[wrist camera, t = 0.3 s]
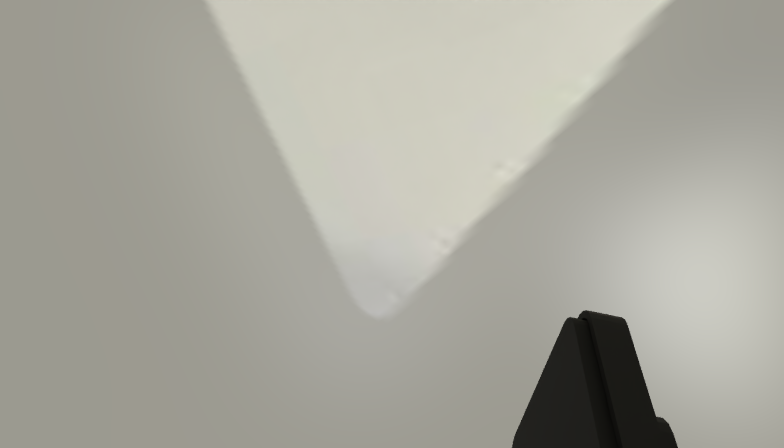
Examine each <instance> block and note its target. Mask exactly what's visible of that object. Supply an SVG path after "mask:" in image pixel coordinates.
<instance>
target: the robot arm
mask: <svg viewBox="0 0 784 448" xmlns="http://www.w3.org/2000/svg"><path fill="white" fill-rule="evenodd" d="M512 448H678V447H677V444H676V441H675V438H674V435H673V432H672V430H671V428H670V426H669V424H668V423H667V422H666V421H665V420H664V419H663V418H660V417H656V415H655V412H654V409H653V406H652V403H651V399H650V396H649V393H648V390H647V386H646V383H645V380H644V377H643V373H642V370H641V367H640V364H639V361H638V357H637V354H636V351H635V348H634V344H633V341H632V338H631V335H630V331H629V328H628V325H627V323H626V321H625V319H623V318H622V317H616V316H612V315H607V314H602V313H597V312H592V311H587V310H586V311H583V312H582V313H581V314H580V315H579V317H578V318H571V317H569V318H567V319H566V321H565V323H564V324H563V327H562V329H561V332H560V334H559V336H558V338H557V340H556V343H555V345H554V347H553V350H552V352H551V354H550V356H549V359H548V361H547V363H546V365H545V368H544V370H543V372H542V375H541V377H540V379H539V381H538V384H537V386H536V388H535V390H534V393H533V395H532V398H531V400H530V402H529V404H528V407H527V409H526V411H525V413H524V416H523V418H522V420H521V423H520V425H519V427H518V429H517V432H516V434H515V437H514V441H513V445H512Z"/></svg>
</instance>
